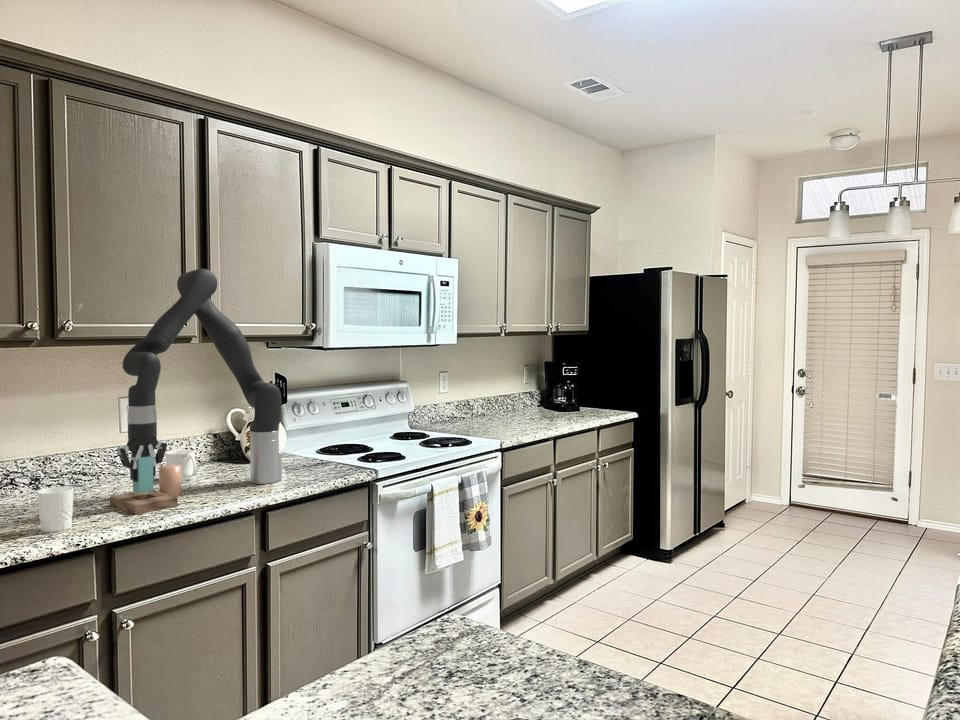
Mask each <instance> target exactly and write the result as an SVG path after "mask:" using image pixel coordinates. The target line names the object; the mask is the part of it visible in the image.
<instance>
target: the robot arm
mask: <svg viewBox="0 0 960 720" xmlns="http://www.w3.org/2000/svg"><path fill="white" fill-rule="evenodd" d="M217 279H218V278H217V277H216V275H215V274H214V272H212V271H211V270H210V269H207V268H196V269H192V270H190V271H186V272H183V273H181V275H179V277H178V278H177V281H176V286H177V291H178V292H179V295H180V297H179V299H178V300H176V302H175V303H174V304H173V305H172V306H171V307H170V308H169V309H167V311H165V312H164V313H163V314H162V315H161V316H160V317H159V318H158V319H157V320H156V322H155V323H154V324H153V325H152V327H151V328H150V330H149V331H148V332H147V334H146V335H145V337H144V338H142V339H141V340H140V341H138V342H137V343H136V344H135V345H134V346H133V347H131V349H130V350H129V351H128V352H127V353H126V354H125V355H124V357H123V360H122V370H123V371H124V372H125V373H126V374H127V375H129V376H132V377H137V379H136V383H135V384H134V385H131V386H129V389H128V393H127V394H128V397H127V399H128V404H127V405H128V407H127V439H128V440H127V443H126V445H125V446H121V447H117V449H116V452H117V454H118V457H119V460H120V463H121V465H122V467H124V468H127V469H129V471H130V472H129V473H130V474H129V475H130V477H129V479H130V480H131V481H132V483H133V482H138V469H137V466H138V460H139V458H140V457H142V456H150V457H152V456H153V480H154V479H155V477H156V476H157V475H156V474H157V472H156V467H157V465H159V464H162V462H163V460H164V457H165V455H166V452H167V447H168V444H167V442H161V441H159V440H158V438H157V436H158V430H157V429H158V426H157V425H158V424H157V423H158V422H157V420H158V416H157V414H158V413H157V407H156V406H157V405H156V390H157V386H158V382H159V378H160V375H161V370H162V369H161V368H162V366H161V365H162V364H161V361H160V358H159V357H158V355H160V354H163V353H165V352H166V351H167V350H168V349H169V348H170V347H171V345H172V344H173V342H174V341H175V339H176V338H177V337H178V336H179V334H180V333H181V331H182V330H183V328H184V327H185V326H186V324H187V323H188V322H189V320H191V318H192V317H193V316H194V315H195V316H196V317H197V319H198V321H199V322H200V324H201V325H202V326H203V328H204V331H206V333H207V335H208V337H209V338H210V339H211V341H212V343H213V345H214V346H215V349H216V350H217V352H218V353H219V355H220V356H221V357H222V359H223V360H224V362H225V364H226V366H227V367H228V368H229V370H230V371H231V373H232V375H233V376H234V378H235V379H236V381H237V383H238V385H239V387H240V389H241V391H242V393H243V396H244V398H245V400H246V402H247V403H248V405H249V406H250V407H251V408H253V409H254V417H253V419H252V421H251V422H250V424H249V447H250V448H249V452H250V453H249V457H250V458H249V461H250V462H249V464H250V470H249V472H250V473H249V474H250V483H251V484H258V485H265V484H275V483H277V482H279V481H282V478H283V477H282V474H283V473H282V452H281V451H280V440H279V435H280V434H279V430H280V424H281V419H282V393H281V390H280V389H279V387H278V386H277V385H276V384H273V383H269V382H266V381H265V380H264V379H263V378H262V377H261V375H260V374H259V372H258V370H257V368H256V367H255V364H254V362H253V358H252V353H251V352H252V351H251V349H250V345H249V343H248V341H247V339H246V337H245V336H244V335H243V332H242V331H241V329H240V328H239V326H238V325H236V324H235V322H234V321H232V320H231V319H230V318H228V317H227V316H226V315H225V314H223V313H222V312H221V311H220V310H219V309H218V308H217V306H215V304H214V303H213V301H212V298H211V297H212V296H213V295H214V294H215V293H216V291H217V289H218V280H217ZM155 449H157V451H156V453H155ZM128 450H129V451H130V452H131V454H130V457H128V455H127V454H128V453H129V452H128ZM129 458H130V459H129Z"/></svg>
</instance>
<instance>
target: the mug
mask: <svg viewBox="0 0 960 720" xmlns="http://www.w3.org/2000/svg"><path fill="white" fill-rule="evenodd" d="M195 454H196V452H195V450H194V449H174V450H169V451H168V450H167V451H165V465H181V482H186V481H187V482H188V481H192V480H193V479H195V478H196V474H197V472H198V466H197V460H196V457H195V456H196V455H195Z"/></svg>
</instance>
